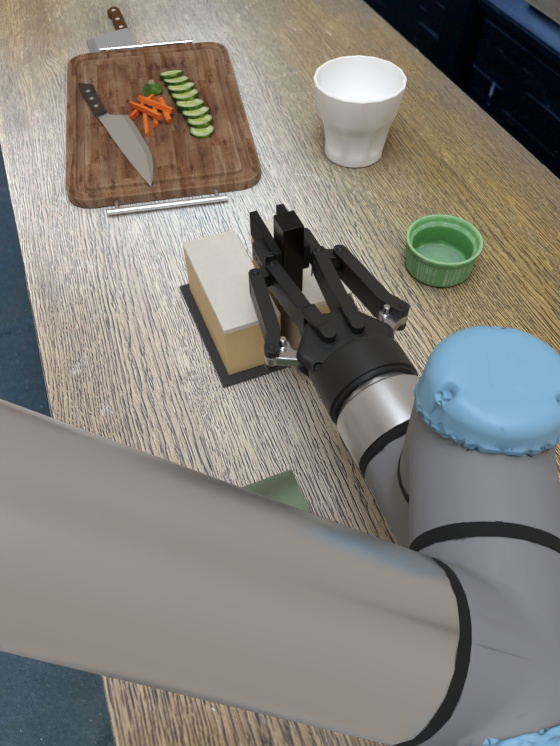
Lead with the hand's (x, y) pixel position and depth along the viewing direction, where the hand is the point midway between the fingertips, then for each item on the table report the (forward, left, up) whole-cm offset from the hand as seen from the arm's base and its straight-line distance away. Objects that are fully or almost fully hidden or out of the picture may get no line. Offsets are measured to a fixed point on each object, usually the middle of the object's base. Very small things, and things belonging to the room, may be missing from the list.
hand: (266, 219), depth 63 cm
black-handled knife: (+5, -2, -13) cm, 14 cm away
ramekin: (+7, +21, -15) cm, 27 cm away
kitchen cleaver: (-69, +24, -15) cm, 74 cm away
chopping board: (-43, +15, -14) cm, 48 cm away
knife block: (+22, -21, -14) cm, 34 cm away
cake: (-1, 0, -14) cm, 14 cm away
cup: (-17, +31, -15) cm, 38 cm away
